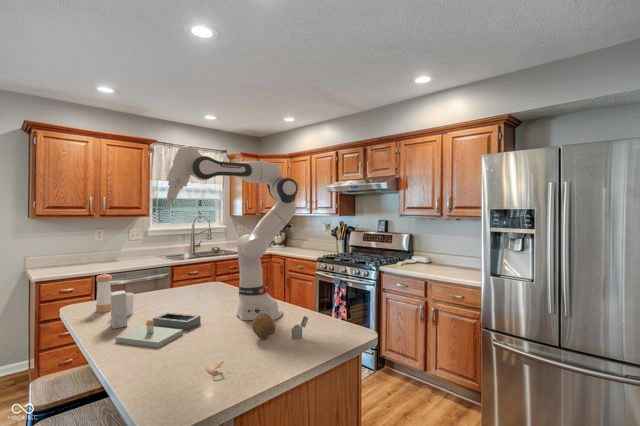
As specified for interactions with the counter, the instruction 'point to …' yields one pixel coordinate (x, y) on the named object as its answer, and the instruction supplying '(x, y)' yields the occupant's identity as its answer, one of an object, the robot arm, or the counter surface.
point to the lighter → (299, 329)
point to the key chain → (216, 372)
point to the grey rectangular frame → (176, 321)
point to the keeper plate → (149, 335)
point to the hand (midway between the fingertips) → (167, 209)
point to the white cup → (129, 303)
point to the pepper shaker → (103, 293)
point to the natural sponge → (263, 326)
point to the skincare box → (118, 309)
